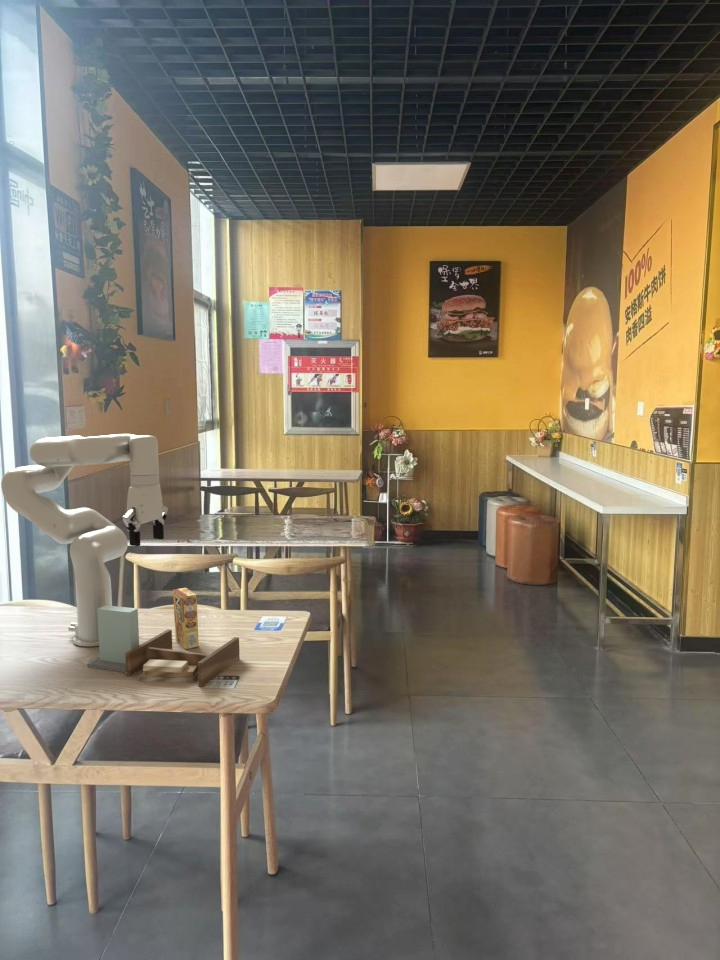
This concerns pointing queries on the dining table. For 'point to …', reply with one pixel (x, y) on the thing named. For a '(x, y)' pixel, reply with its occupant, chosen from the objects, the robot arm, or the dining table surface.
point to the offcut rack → (183, 656)
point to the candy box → (186, 618)
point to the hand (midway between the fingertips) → (147, 542)
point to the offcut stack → (168, 671)
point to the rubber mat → (107, 665)
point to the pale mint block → (117, 632)
